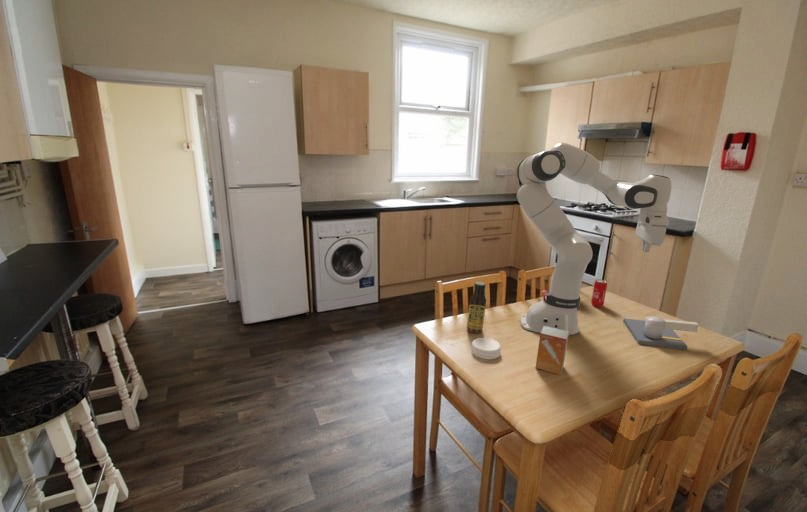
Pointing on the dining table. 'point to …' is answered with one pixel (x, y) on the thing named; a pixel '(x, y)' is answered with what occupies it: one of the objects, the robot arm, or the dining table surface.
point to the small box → (552, 349)
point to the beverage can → (599, 293)
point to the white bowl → (486, 348)
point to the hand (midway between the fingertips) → (645, 251)
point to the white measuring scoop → (666, 326)
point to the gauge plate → (667, 340)
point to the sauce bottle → (477, 309)
